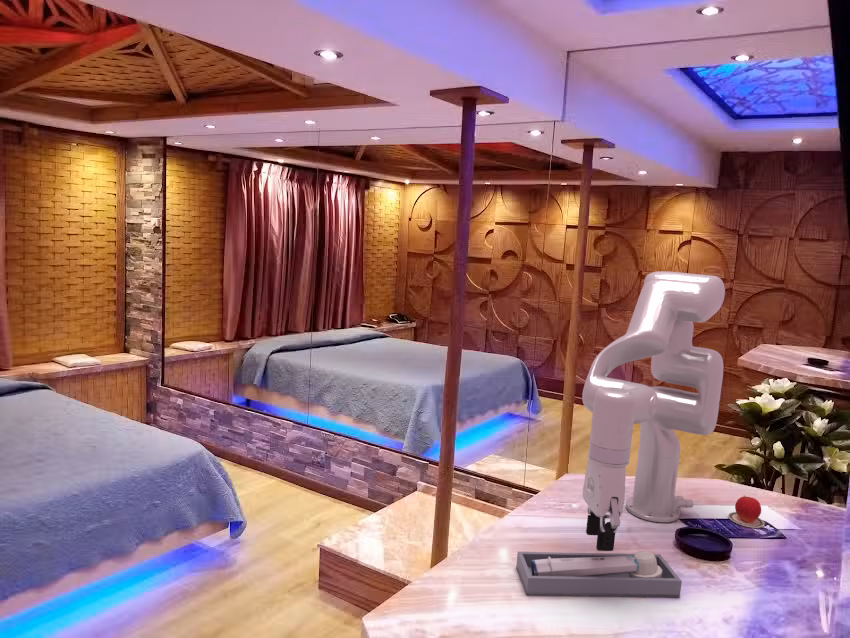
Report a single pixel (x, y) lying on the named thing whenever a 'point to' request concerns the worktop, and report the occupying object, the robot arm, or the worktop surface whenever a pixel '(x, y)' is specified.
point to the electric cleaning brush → (599, 566)
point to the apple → (747, 513)
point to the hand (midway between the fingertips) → (599, 541)
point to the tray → (596, 579)
